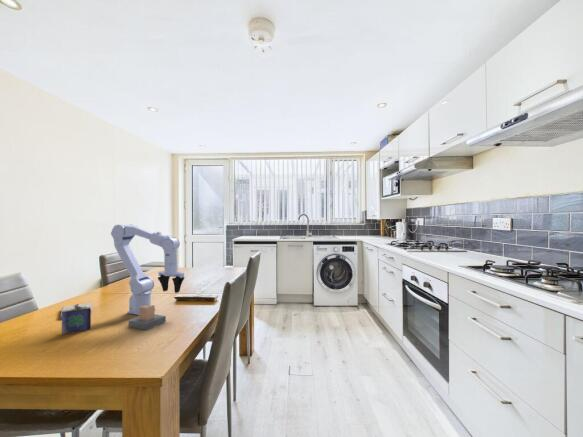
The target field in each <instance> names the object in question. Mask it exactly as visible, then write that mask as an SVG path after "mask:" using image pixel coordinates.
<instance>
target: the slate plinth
mask: <svg viewBox="0 0 583 437" xmlns="http://www.w3.org/2000/svg"><path fill="white" fill-rule="evenodd" d="M166 322H167V320H166V315H162V314H156V313H154V318H151V319H148V320H143V319H140V316H137V317H134V318H131V319H129V320H128V327H130V328H135V329H139V330H143V331H146V330H149V329H152V328H154V327H157V326H159V325H161V324H164V323H166Z"/></svg>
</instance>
